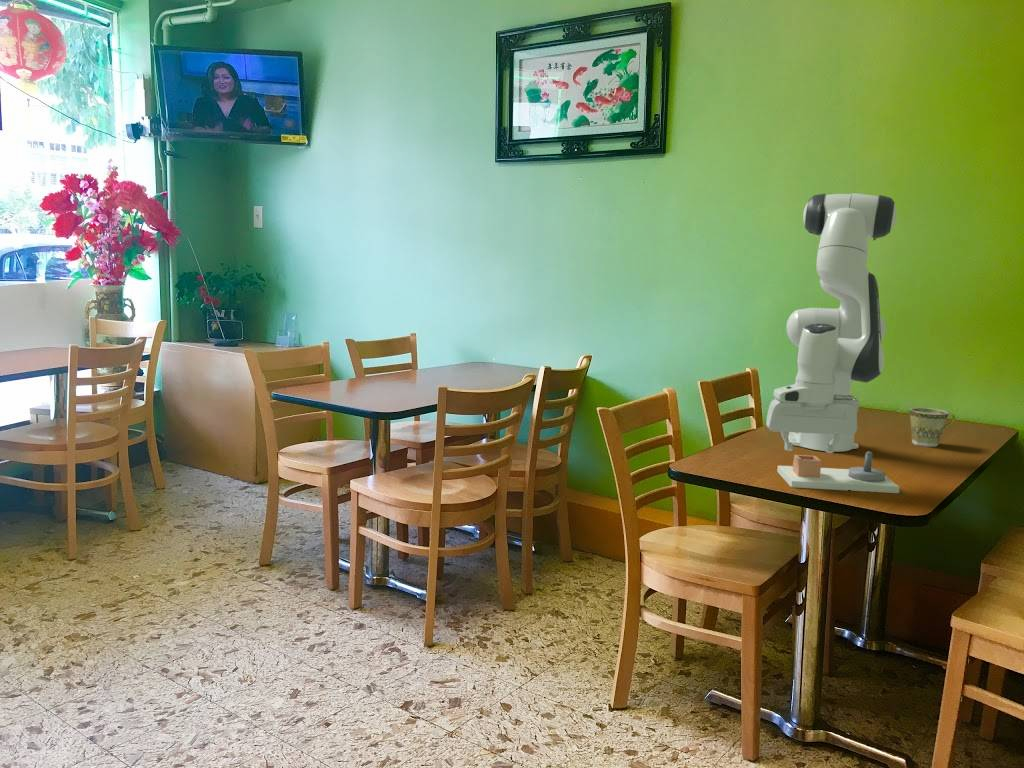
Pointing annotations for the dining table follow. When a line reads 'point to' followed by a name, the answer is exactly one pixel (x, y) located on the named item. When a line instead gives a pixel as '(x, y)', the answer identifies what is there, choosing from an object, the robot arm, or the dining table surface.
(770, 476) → the dining table surface
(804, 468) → the collar
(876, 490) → the board
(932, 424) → the ceramic cup
